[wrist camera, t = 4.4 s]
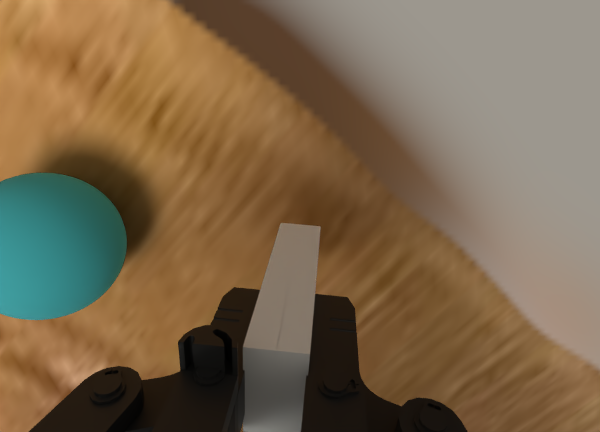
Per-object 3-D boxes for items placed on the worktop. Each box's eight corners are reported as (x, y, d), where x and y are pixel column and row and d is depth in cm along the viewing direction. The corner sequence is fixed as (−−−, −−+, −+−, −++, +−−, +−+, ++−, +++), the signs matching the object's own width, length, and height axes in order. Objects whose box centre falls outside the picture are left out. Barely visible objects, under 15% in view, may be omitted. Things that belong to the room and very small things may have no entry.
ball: (143, 160, 16) (56, 213, 11) (155, 274, 18) (88, 361, 13) (15, 150, 17) (-125, 198, 12) (42, 264, 19) (-65, 344, 14)
